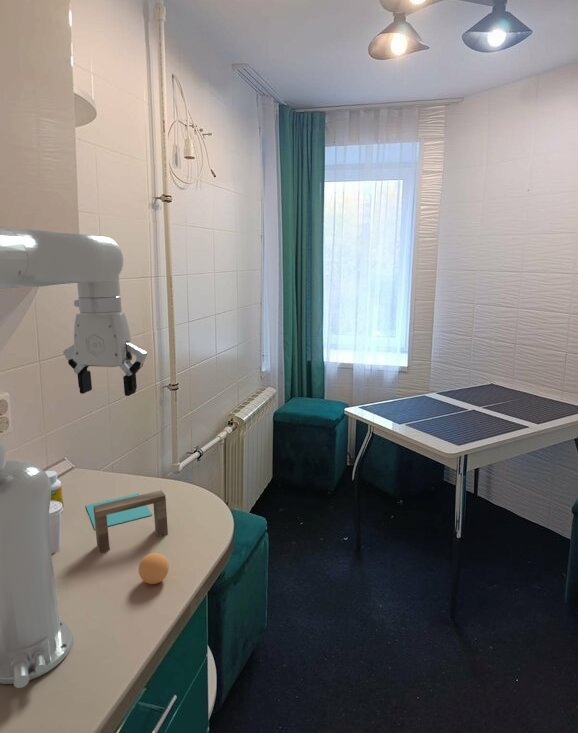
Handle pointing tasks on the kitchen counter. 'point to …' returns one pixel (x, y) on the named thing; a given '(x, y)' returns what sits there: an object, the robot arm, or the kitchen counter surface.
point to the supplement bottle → (55, 487)
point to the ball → (153, 568)
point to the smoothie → (55, 525)
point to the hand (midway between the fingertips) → (108, 393)
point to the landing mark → (120, 516)
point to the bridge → (126, 504)
